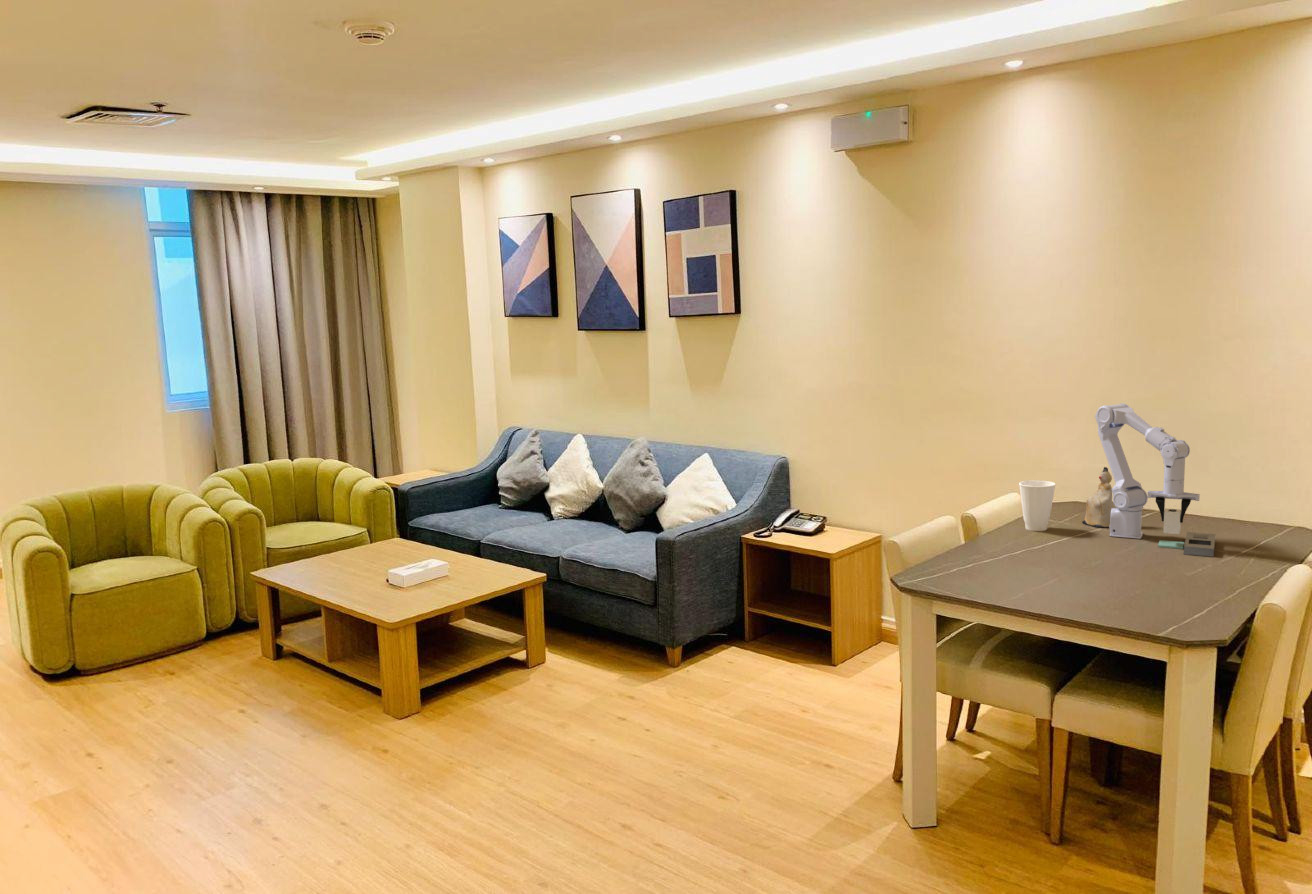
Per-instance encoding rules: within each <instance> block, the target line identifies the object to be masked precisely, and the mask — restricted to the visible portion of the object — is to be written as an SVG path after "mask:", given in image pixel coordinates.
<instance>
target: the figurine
mask: <svg viewBox="0 0 1312 894" xmlns="http://www.w3.org/2000/svg"><path fill="white" fill-rule="evenodd" d="M1098 479H1099V481H1100V483H1098V489H1097V490H1096V491H1095V493H1093V494H1092V495H1090V496H1089V497H1087V499H1086V502H1085V504H1086V506H1085V516H1084V519H1083V521H1082V523H1081V524H1083V525H1085V526H1088V527H1089V526H1090V527H1092V528H1095V529H1110V516H1111V509H1112V508H1117V507H1116V506H1115V505H1114V503H1113V493H1112V488H1113V487H1112V485H1111V484H1110V483H1111V482H1112V480H1113V475H1111V473H1110V471H1109V468H1108V467H1106V466H1104V467H1103V470H1102V471H1101V473H1100V475H1099V476H1098Z"/></svg>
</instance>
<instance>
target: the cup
mask: <svg viewBox="0 0 1312 894" xmlns="http://www.w3.org/2000/svg"><path fill="white" fill-rule="evenodd" d="M1018 485H1019V493H1020V502H1021V509H1022V518H1023V521H1024V525H1025V529H1026V530H1027V531H1033V532H1044V531H1047V530H1048V526H1049V525H1048V524H1049V523H1050V518H1051V512H1052V506H1053V501H1054V494H1055V489H1056V486H1057V484H1056V483H1055V482H1053V481H1048V480H1037V479H1036V480H1035V479H1034V480H1031V479H1029V480H1022V481H1020V482H1018Z"/></svg>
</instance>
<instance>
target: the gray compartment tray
mask: <svg viewBox="0 0 1312 894" xmlns="http://www.w3.org/2000/svg"><path fill="white" fill-rule="evenodd" d="M1215 545H1216V533H1215V534H1214V533H1205V532H1191V531H1187V532H1186V536H1185V540H1184V547H1183V555H1188V556H1200V557H1210V558H1211V557H1212V558H1215V557H1214V556H1215Z"/></svg>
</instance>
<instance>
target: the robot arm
mask: <svg viewBox="0 0 1312 894" xmlns="http://www.w3.org/2000/svg"><path fill="white" fill-rule="evenodd" d="M1094 418H1095V421H1096V424H1097V433H1098V437H1099V440H1100V443H1101V446H1102V448H1103V452H1104V454H1105V457H1106V460H1107V463H1108V465H1109V469H1110V471H1111V474H1112V478H1113V479H1114V481H1115V484H1114V485H1113V487H1112V501H1113V503H1114V505H1115V507H1116V508H1112V509H1111V516H1110V528H1109V536H1110V537H1113V538H1114V537H1116V538H1130V539H1142V538H1143V535H1144V532H1143V531H1142V513H1143V512H1142V511H1143V510H1144V506H1146V505H1147V503H1148V499H1151V498H1152V499H1153V498H1154V499H1155V503H1156V505H1157V507H1158V509H1159V513H1160V517H1161V522H1164V511H1165V509H1166V508H1165V507H1166V505H1165V503H1166V499H1168V500H1181V502H1180V503H1181V504H1180V510H1181V517H1180V523H1181V524H1182V523H1184V516H1185V514H1186V512H1187V510H1188V508H1189V506H1190V504H1191V501H1195V502H1200V495H1201V494H1200V493H1194V492H1192V493H1191V492H1184V491H1185V472H1186V471H1185V469H1186V458H1187V457H1188V456H1189V455H1190V452H1191V451H1190V450H1191V448H1190V446H1189V444H1188V443H1187V442H1186V441H1185V440H1183V439H1179V440H1178V439H1177V438H1176V437H1175V436H1172V435H1170V433H1167V432H1166V431H1165V428H1164V427H1158V426H1154V427H1153V426H1151V424H1149V423H1148V422H1147V421H1146V420H1144V419H1143V418H1142V417H1141V416H1140V415H1138V414H1137V413H1136V412H1135V411H1134V408H1133V407H1131V406H1129V405H1128V404H1126V403H1119V404H1111V405H1110V404H1109V405H1102V406H1100V407H1099V408H1097V411H1096V413H1095V415H1094ZM1125 425H1128V427H1129V426H1130V427H1131V428H1132V429H1134V430H1135V431H1137V432H1139V433H1140V434H1141V435H1143V436H1144V439H1145V441H1146V442H1147V443H1148V444H1149V445H1151V446H1152V447H1154V448H1155V449H1156V450H1158V451H1159V452H1160V456H1161V457H1162V459H1163V464H1164V468H1163V469H1164V470H1163V489H1162V490H1148V491H1146V490H1145V489H1143V487H1142V485H1141V483H1140V482H1139V481H1138V480H1136V479H1135V478H1134V477H1133V474H1132V471H1131V469H1130V466H1129V463H1128V460H1127V458H1126V455H1125V452H1124V450H1123V447H1122V444H1121V441H1120V439H1119V436H1118V433H1119V432H1120V431H1121V429H1122V428H1123V427H1124V426H1125Z"/></svg>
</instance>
